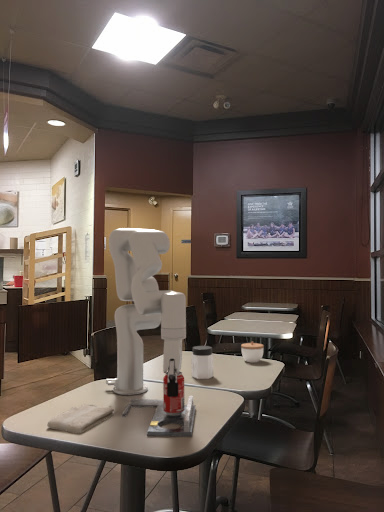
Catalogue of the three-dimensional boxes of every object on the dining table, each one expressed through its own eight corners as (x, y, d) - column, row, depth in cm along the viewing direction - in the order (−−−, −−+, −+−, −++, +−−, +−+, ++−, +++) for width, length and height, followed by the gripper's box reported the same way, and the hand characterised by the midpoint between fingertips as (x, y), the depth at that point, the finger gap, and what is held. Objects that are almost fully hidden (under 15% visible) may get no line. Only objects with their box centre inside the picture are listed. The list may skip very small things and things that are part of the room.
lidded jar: (238, 359, 215) (238, 340, 215) (259, 358, 216) (259, 339, 217) (245, 364, 204) (244, 343, 204) (267, 363, 206) (266, 343, 206)
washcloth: (116, 415, 137) (116, 405, 137) (81, 436, 120) (81, 424, 120) (84, 410, 141) (84, 401, 141) (46, 430, 124) (46, 419, 125)
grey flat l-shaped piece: (122, 416, 134) (122, 414, 134) (132, 401, 149) (132, 398, 149) (161, 417, 133) (161, 414, 133) (167, 401, 149) (167, 399, 149)
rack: (147, 435, 119) (147, 420, 119) (158, 408, 141) (158, 395, 141) (191, 436, 118) (191, 420, 118) (195, 408, 141) (195, 395, 141)
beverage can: (173, 408, 137) (172, 369, 137) (188, 412, 133) (188, 372, 133) (159, 413, 132) (159, 373, 132) (174, 418, 128) (174, 376, 128)
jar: (188, 375, 183) (188, 346, 184) (204, 373, 187) (204, 344, 188) (199, 380, 176) (199, 350, 176) (216, 377, 180) (216, 348, 180)
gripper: (164, 329, 141) (164, 385, 141) (157, 338, 124) (157, 401, 124) (187, 329, 141) (188, 385, 141) (183, 338, 124) (184, 402, 123)
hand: (173, 392), depth 132 cm, fingers closed on beverage can, 6 cm apart
